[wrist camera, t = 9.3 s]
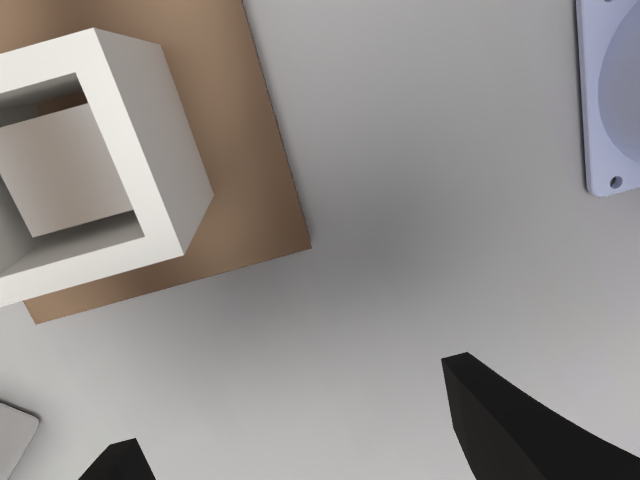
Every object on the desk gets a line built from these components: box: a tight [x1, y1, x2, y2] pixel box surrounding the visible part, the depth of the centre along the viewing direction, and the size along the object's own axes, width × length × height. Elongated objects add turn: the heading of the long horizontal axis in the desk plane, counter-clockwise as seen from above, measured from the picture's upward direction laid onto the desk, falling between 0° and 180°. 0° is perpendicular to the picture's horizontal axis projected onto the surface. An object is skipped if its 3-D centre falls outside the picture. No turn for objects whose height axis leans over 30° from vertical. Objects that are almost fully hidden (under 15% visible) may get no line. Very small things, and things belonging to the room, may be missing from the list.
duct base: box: [0, 0, 312, 324], centre depth 15 cm, size 11×11×6 cm
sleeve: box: [0, 28, 214, 307], centre depth 13 cm, size 5×5×6 cm
